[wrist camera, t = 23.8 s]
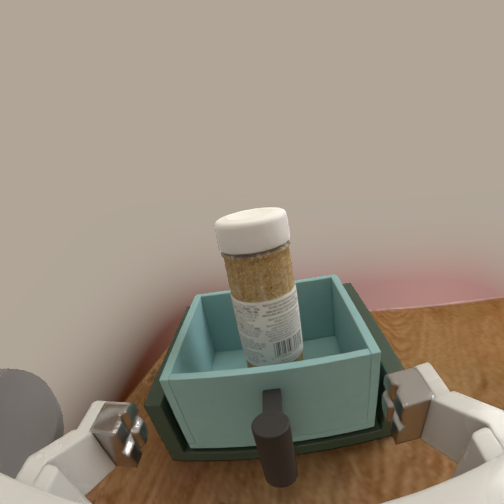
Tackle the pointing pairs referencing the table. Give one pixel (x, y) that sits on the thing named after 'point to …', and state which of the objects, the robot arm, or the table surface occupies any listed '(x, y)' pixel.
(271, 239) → the sprinkles bottle
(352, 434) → the dark green bin
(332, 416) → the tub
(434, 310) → the table surface
